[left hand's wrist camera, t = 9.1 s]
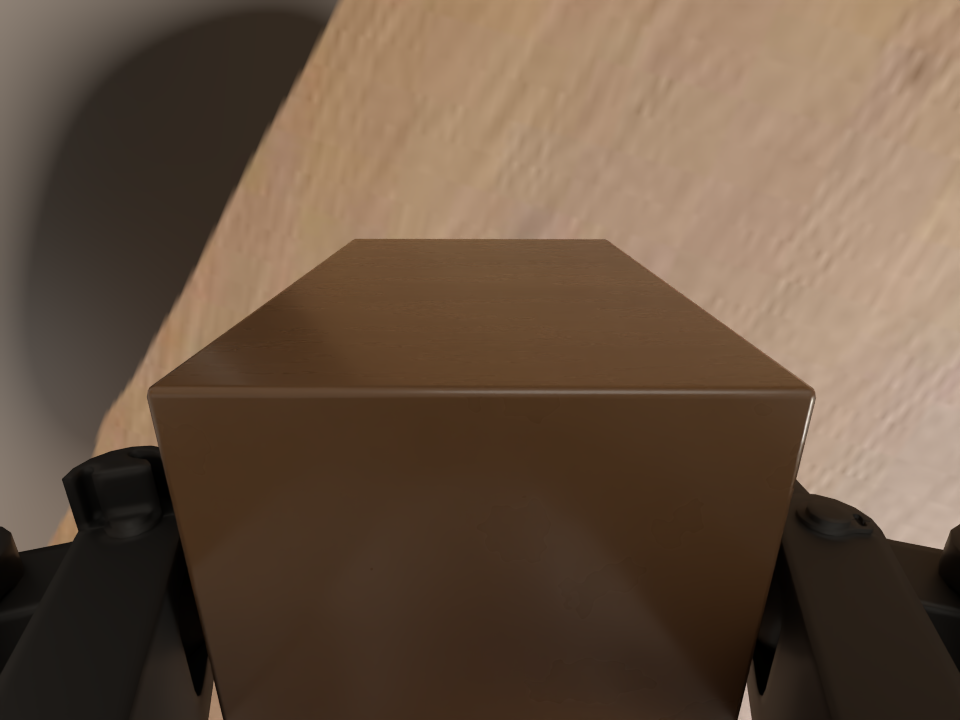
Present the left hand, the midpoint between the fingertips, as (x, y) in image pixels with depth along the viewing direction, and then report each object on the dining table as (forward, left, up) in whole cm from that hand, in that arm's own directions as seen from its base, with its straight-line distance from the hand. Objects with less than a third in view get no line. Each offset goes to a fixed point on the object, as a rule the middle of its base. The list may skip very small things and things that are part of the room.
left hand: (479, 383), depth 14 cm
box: (+5, +5, -1) cm, 7 cm away
